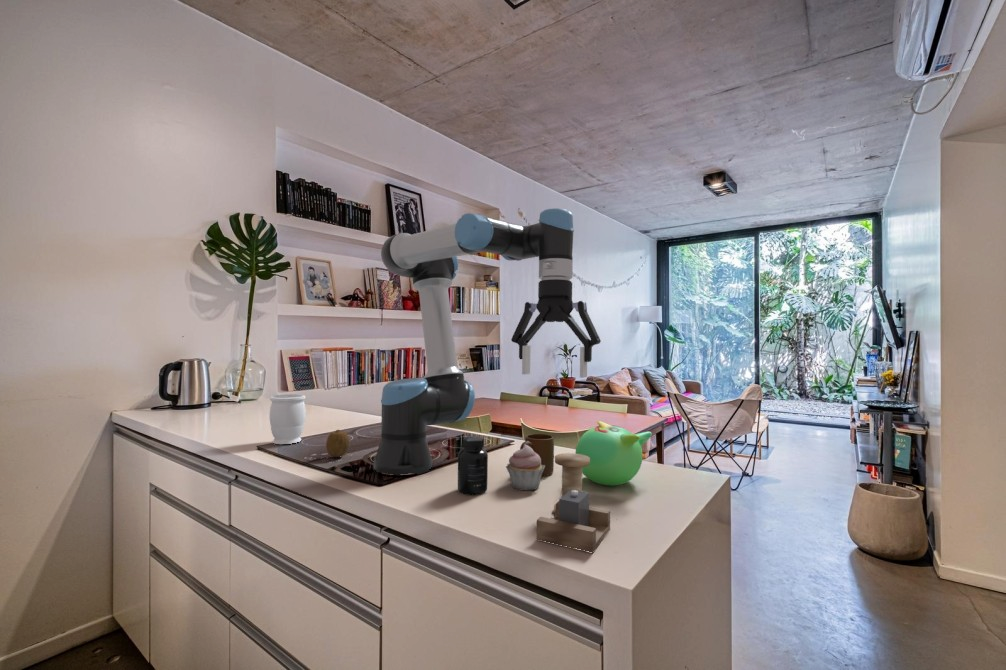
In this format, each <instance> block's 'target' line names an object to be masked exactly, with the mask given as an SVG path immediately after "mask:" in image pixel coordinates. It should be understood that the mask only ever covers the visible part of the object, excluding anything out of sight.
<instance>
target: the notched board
mask: <svg viewBox="0 0 1006 670" xmlns="http://www.w3.org/2000/svg"><path fill="white" fill-rule="evenodd" d="M555 504H556V514H555V516H554V518H549V517H544V516H540V517H538V518H537V519H536V528H535V529H536V531H535V532H536V536H535V537H536V539H537V540H536V541H538V540H542V541H546V542H550V543H554V544H558V545H557V546H559V545H562V546H561V547H563V546H567V547H571V548H577V549H581V550H585V551H589V552H593V551H594V550H595V549H596V550H597V549H598V547H599V546H598V545H600V544H601V543H602V541H603V540H604V538H605V537H606V536H607V534H609V531H610V530H611V509H606V508H600V507H594V506H590V505H589V526H583V525H578V524H574V523H569V522H564V521H559V500H558V501H557V502H556V503H555ZM542 541H541V542H542ZM546 542H545V543H546ZM550 543H549V544H550ZM554 544H553V545H554ZM597 546H598V547H597ZM567 547H566V548H567ZM571 548H570V549H571ZM596 550H595V551H596ZM595 551H594V552H595ZM594 552H593V553H594Z"/></svg>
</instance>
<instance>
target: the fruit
mask: <svg viewBox="0 0 1006 670" xmlns="http://www.w3.org/2000/svg"><path fill="white" fill-rule="evenodd" d="M326 438H327V439H326V443H325V444H326V451H327V453H328V455H330V456H331V457H333V458H335V457H340V456H341V457H343V456H345V455H346V453H348V450H349V448H350V437H349V436H348V433H347V432H346V431H343V430H340V429H336V430H335V431H332V432H330V434H329V435H328V436H327V437H326ZM341 457H340V458H341Z"/></svg>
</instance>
